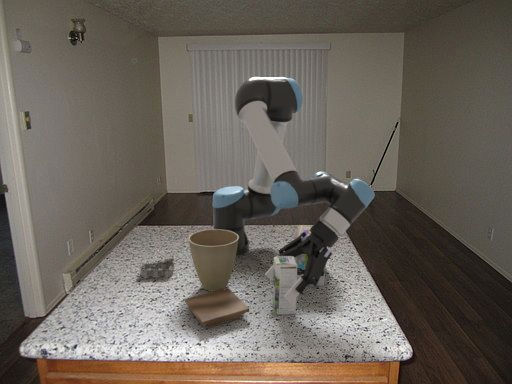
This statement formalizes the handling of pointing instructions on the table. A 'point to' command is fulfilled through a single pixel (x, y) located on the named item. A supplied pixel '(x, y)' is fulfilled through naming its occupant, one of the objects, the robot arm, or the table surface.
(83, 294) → the table surface
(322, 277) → the tea box
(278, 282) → the syrup box
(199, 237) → the plant pot
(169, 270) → the egg carton
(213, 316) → the stand
